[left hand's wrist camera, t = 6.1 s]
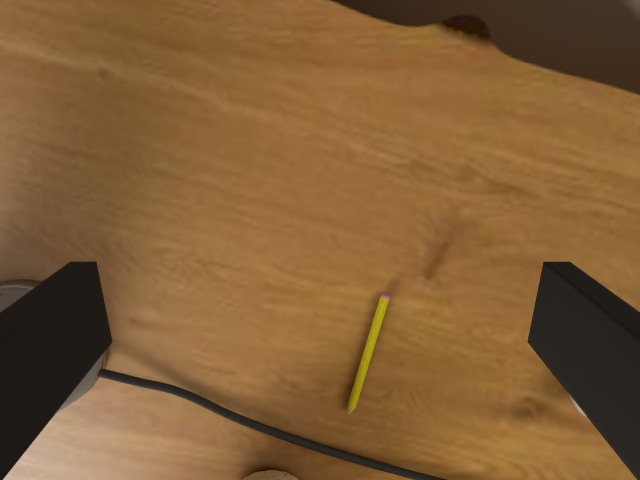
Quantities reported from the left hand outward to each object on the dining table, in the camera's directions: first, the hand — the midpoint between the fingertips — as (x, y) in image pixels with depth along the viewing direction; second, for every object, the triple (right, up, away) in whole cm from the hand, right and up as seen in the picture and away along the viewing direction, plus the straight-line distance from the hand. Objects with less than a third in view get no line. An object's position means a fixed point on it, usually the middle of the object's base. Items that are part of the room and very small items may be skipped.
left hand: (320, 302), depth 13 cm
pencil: (+5, -11, +36) cm, 38 cm away
